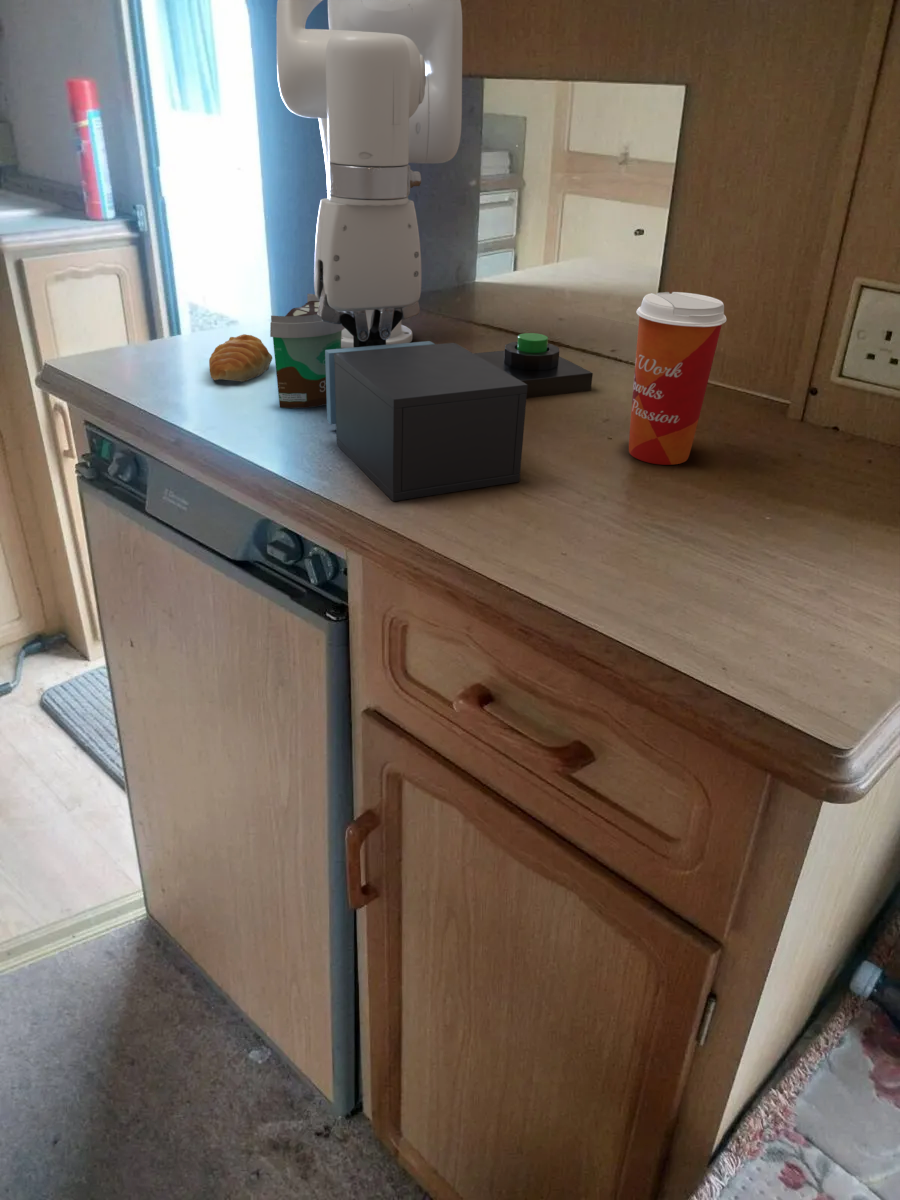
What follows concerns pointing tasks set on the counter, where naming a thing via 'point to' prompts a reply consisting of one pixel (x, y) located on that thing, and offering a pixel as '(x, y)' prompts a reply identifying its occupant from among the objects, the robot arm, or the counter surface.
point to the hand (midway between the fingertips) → (369, 375)
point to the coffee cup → (672, 373)
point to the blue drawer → (331, 371)
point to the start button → (532, 343)
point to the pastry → (239, 359)
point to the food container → (303, 354)
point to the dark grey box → (429, 419)
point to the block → (541, 370)
